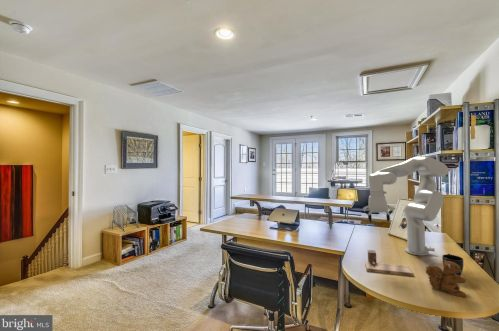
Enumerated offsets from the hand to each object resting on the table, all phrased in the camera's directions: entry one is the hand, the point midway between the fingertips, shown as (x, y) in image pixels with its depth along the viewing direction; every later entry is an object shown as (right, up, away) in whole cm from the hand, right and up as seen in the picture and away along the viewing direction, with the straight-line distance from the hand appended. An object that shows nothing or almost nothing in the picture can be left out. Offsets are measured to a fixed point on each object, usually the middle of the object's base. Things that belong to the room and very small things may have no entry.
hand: (379, 221), depth 148 cm
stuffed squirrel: (+10, -23, -38) cm, 45 cm away
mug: (+26, -22, -23) cm, 41 cm away
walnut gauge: (-9, -23, -9) cm, 27 cm away
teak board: (-4, -23, -16) cm, 28 cm away
